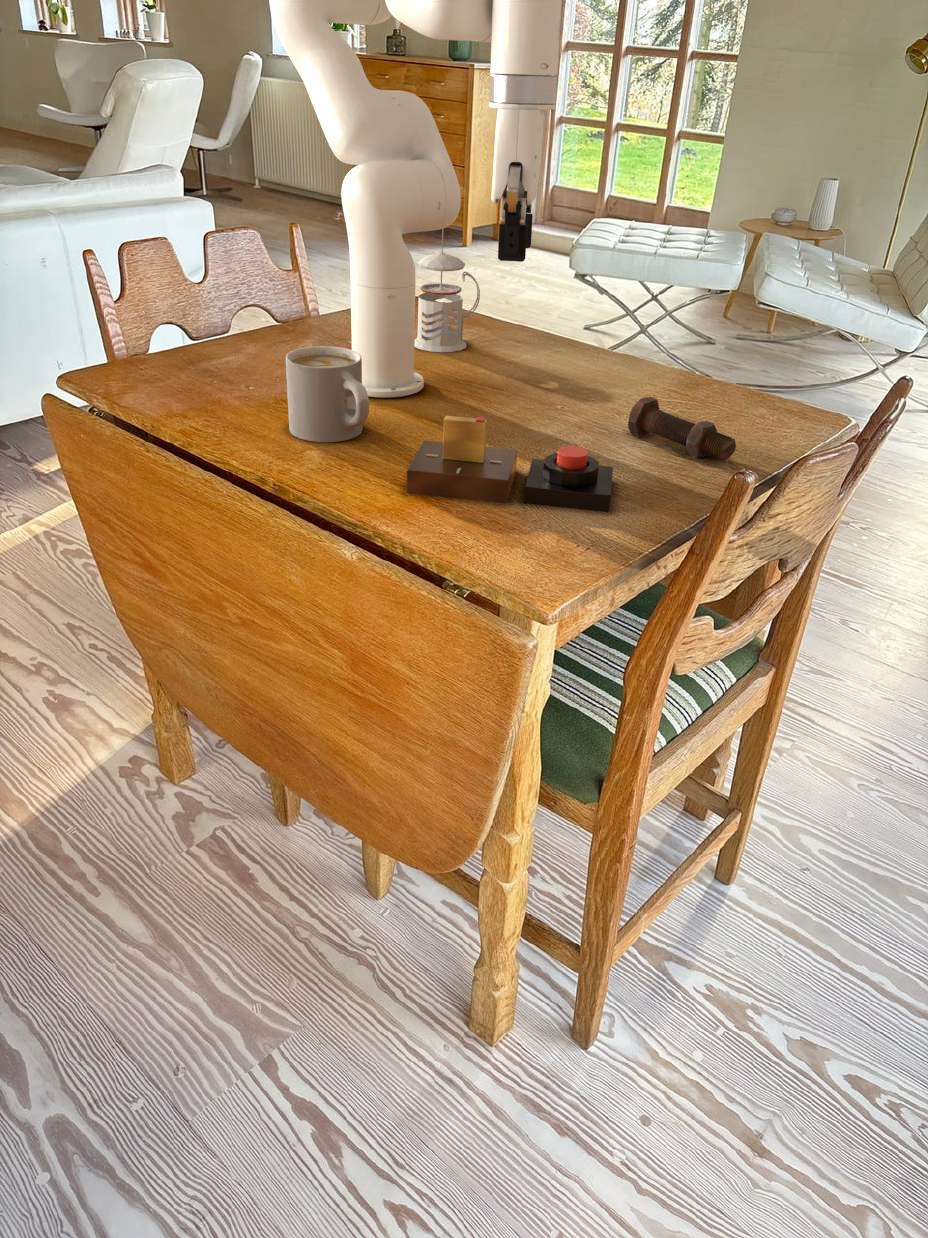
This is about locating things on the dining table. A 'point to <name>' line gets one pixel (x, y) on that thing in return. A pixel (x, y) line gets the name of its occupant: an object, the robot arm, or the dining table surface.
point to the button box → (569, 485)
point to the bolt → (679, 430)
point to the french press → (442, 307)
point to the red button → (572, 457)
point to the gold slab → (464, 438)
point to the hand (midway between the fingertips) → (514, 253)
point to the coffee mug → (325, 393)
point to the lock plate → (462, 474)
